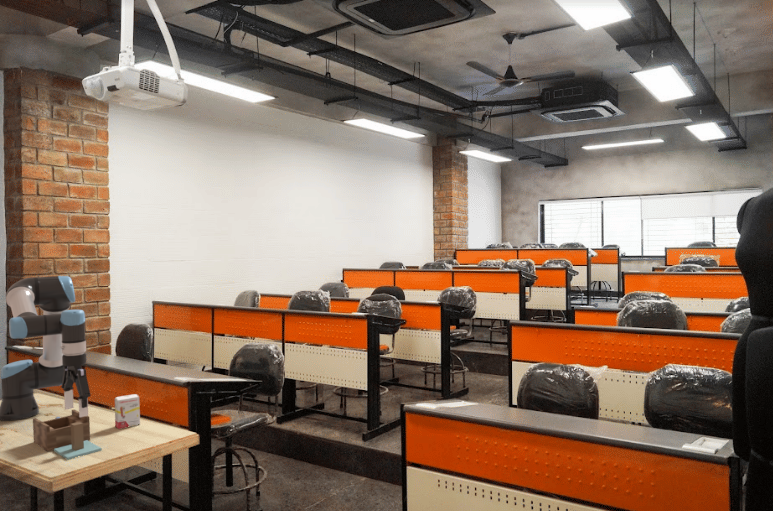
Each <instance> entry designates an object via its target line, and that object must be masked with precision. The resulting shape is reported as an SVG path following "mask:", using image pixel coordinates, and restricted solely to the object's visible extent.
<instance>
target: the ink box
mask: <svg viewBox="0 0 773 511" xmlns="http://www.w3.org/2000/svg"><path fill="white" fill-rule="evenodd" d="M114 421H115V422H114V426H115V427H116V428H117V429H118V430H121V428H122V429H126V428H125V427H127V428H129V427H128V426H132V425H136V426H139V425H138V424H140V425H141V410H140V396H139V394H136V393H135V394H128V395H121V396H117V397H115V398H114ZM132 427H133V426H132Z"/></svg>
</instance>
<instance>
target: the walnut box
mask: <svg viewBox="0 0 773 511" xmlns="http://www.w3.org/2000/svg"><path fill="white" fill-rule="evenodd" d="M76 422H81V423H83V437H84V441H86V440H88V441H90V442H91V427H90V426H91V425H90V423H91V422H90V416H89V415H88V416H84V417H79V410H76V409H72V410H71V414H70V415H66V416H60V418H57V419H55V418H52V419H49V420H44V421H41V420H40V419H38V418H36V417H34V418H32V429H33V433H32V434H33V443H34V444H35V445H37V446H38V447H40V448H42V449H43V450H45V451H47V452H52V451H54V449H55V448H59V447H63V446H67V445H71V444H72V443H71V424H72V423H76Z"/></svg>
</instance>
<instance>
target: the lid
mask: <svg viewBox="0 0 773 511" xmlns="http://www.w3.org/2000/svg"><path fill="white" fill-rule="evenodd" d="M71 443H72V444H71V445H67V446H63V447H59V448H55V449H54V450H53V451H54V452H55V454H58V455H60V456H61V457H62V458H64V459H65V458H66V459H65V460H67V461H69V459H70V460H73V459H76V458H75V457H77V458H79V457H78V456H80V457H84V456H86V455H90V454H94V453H98V452H101V451H103V449H102V447H100V446H98V445H96V444H95V443H93V442H91V440H90V441H88V440H86V441H84V437H83V423H81V422H76V423H72V424H71ZM83 455H84V456H83ZM72 458H73V459H72Z"/></svg>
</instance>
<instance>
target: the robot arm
mask: <svg viewBox="0 0 773 511" xmlns="http://www.w3.org/2000/svg"><path fill="white" fill-rule="evenodd" d="M74 288H75V287H74V284H73V280H72V277H70V276H68V275H57V276H56V275H55V276H53V275H52V276H36V277H35V276H34V277H25V278H22V279H19V280H18V281H16V282H15V283H13V284H12V285H11V286H10V287H9V288H8V289H7V291H6V294H5V302H6V304H7V306H8V307H10V309H11V313H12V316H13V317H11V318H10V319H9V321H8V324H9V325H8V329H9V332H8V333H9V337H10V338H11V339H14V340H15V339H27V338H29V339H30V338H35V337H36V338H38V337H42V355H40V357H39V358H38V361H36V362H33V360H32V359H23V360H18V361H13V362H10V363H8V364H7V363H6V364H5V365H3V366H2V367H1V369H0V381H1V402H0V421H2V422H3V421H7V422H8V421H18V420H22V419H27V418H31V417H34V416H37V415H38V414H39V412H40V407H39V405H38V402H37V400H36V398H35V395H34V390H38V389H44V388H50V387H60V386H61V389H63V394H64V395H63V396H64V397H63V399H64V401H63V402H64V410H69V409H74V387H73V386H74V384H75V387H76V390H77V393H78V397H77V399H78V412H79V417H84V416H89V401H88V400H89V399H88V398H89V397H91V396H92V395H91V391H90V387H89V386H90V385H89V381H88V377H87V370H86V368H82V366H83V365H85V364H87V353H86V352H87V340H86V314H85V311H84V310H83V309H70V308H71V306H72V304H73V303H75V302H76V295H75V289H74ZM36 306H39V309H40V310H41V311H43V313H42V314H41V315H40V314H39V315H38V311H37V309H36Z"/></svg>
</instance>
